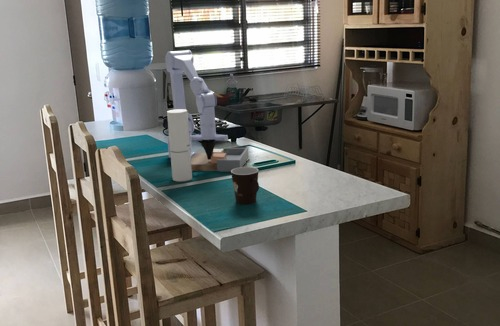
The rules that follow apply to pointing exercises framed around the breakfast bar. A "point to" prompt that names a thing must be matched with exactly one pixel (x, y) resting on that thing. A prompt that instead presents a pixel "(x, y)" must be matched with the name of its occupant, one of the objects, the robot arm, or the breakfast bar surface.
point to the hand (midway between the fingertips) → (209, 158)
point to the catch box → (233, 159)
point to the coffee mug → (245, 184)
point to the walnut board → (202, 163)
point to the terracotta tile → (218, 157)
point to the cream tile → (218, 151)
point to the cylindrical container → (179, 144)
